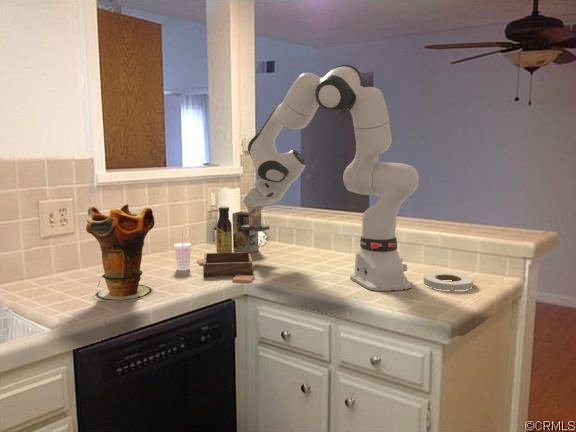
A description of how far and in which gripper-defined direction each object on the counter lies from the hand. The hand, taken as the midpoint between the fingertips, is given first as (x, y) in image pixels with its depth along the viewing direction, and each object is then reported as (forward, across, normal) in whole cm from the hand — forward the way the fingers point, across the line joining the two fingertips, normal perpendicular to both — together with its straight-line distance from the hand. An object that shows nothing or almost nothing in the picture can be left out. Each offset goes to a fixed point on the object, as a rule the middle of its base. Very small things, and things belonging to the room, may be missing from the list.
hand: (253, 210), depth 200 cm
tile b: (+4, +26, +24) cm, 36 cm away
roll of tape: (-38, -5, +66) cm, 77 cm away
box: (+12, +18, +15) cm, 27 cm away
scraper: (+5, 0, +6) cm, 7 cm away
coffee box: (+23, -11, +5) cm, 26 cm away
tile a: (+22, +14, +6) cm, 27 cm away
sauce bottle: (+24, +2, +4) cm, 24 cm away
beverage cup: (+23, +26, +5) cm, 35 cm away
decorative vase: (+19, +58, +9) cm, 61 cm away
